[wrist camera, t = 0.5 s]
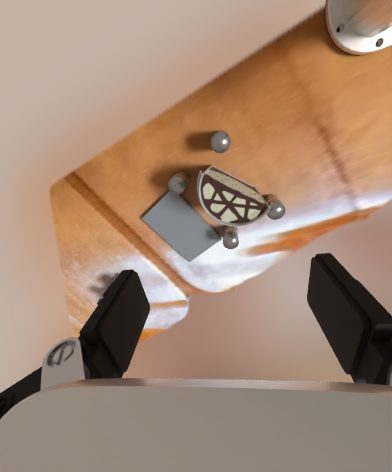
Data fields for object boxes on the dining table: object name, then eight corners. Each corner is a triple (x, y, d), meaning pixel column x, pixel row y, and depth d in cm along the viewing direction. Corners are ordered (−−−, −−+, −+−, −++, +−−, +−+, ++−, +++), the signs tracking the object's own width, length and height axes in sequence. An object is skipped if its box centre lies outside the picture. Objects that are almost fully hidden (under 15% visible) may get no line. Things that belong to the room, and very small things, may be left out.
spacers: (221, 126, 33) (221, 126, 29) (281, 202, 38) (288, 212, 34) (170, 178, 38) (164, 185, 34) (229, 239, 44) (229, 251, 39)
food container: (191, 190, 39) (182, 208, 31) (204, 161, 36) (198, 172, 28) (244, 216, 41) (250, 241, 32) (262, 190, 38) (273, 210, 29)
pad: (173, 187, 39) (171, 188, 38) (221, 237, 44) (221, 239, 43) (143, 217, 44) (141, 219, 43) (189, 259, 48) (189, 262, 47)
